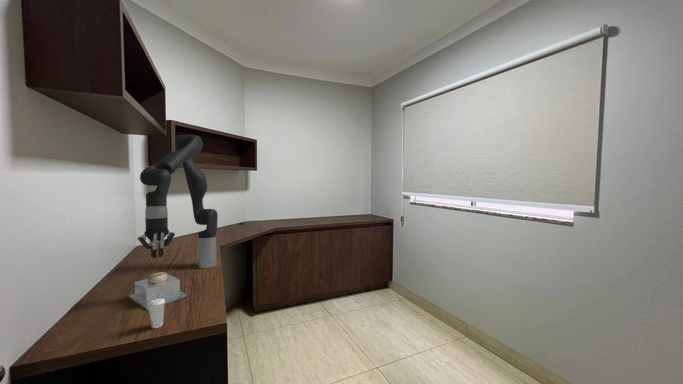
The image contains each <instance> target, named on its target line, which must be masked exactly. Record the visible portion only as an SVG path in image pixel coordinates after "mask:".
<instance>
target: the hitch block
mask: <svg viewBox="0 0 683 384" xmlns="http://www.w3.org/2000/svg"><path fill="white" fill-rule="evenodd" d="M158 293H159V299H160V298H162V299H165V305H166V304H168V303H171V302H174V301H178V300H181V299H183V298H186V297H187V294H186V293H184V292H182V291H181V279H180V278H177V277H175V276H173V275H171V274H169V273H167V280H166V281H164V282H161V283H156V284H150V283H148V278H146V279H141V280H138V281H134V293H133V294H129V296H128V297H129V299H130V300H132V301H133V302H135V303H137V305H139V306H140V307H142V308H143V309H144V310H147V311H148V310H149V303H150V302H151V301H152V300H154V299H157V294H158Z"/></svg>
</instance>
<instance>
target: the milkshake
mask: <svg viewBox="0 0 683 384" xmlns="http://www.w3.org/2000/svg"><path fill="white" fill-rule="evenodd" d="M165 305H166V304H165V299H162V298H160V299H159V293H158V294H157V299H154V300H152V301H151V302H150V303H149V309H148V310H149V319H150V327H151V328H152V329H157V328H160V327H162V326H164V325H163V324H164V319H165V318H164V315H165V307H166V306H165Z"/></svg>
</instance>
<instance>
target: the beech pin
mask: <svg viewBox="0 0 683 384" xmlns="http://www.w3.org/2000/svg"><path fill="white" fill-rule="evenodd" d="M167 274H168V272H165V271H164V272H163V271H160V272H154V273H151V274H150V275H148V276H147V277H148V278H147V279H148V283H150V284H156V283H161V282H164V281H166V280H167Z"/></svg>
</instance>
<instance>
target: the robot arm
mask: <svg viewBox="0 0 683 384" xmlns="http://www.w3.org/2000/svg"><path fill="white" fill-rule="evenodd" d="M203 144H204V143H203V139H202V138H201V137H200V136H199V135H196V134H179V135H177V136H176V137H175V147H176V150H174V151H172V152H171V151H170V152H169V153H167V154H166V155H165V156H163V158H161V159H160V160H159V161H158V162H155V163H154V164H151V165H149V166H146V167H145V168H144V169H143V170H142V171H141V172H140V175H139V180H140V182H141V183H142V184H143V185H145V186H148V187H149V186H150V187H156V188H155V190H153V191H152V190H151V191H148V192H147V193H145V211H144V213H145V218H144V219H145V223H144V224H145V230H144V234H142V235H141V236H138V237H137V241H138V242H140V244H141V245H142V246H143V247H144V248H145V249H147V250H150V257H151V258H153V259H157V257H158V258H163V256H164V254H165V253H164V248H165V247H168V246H169V245H170V243H171V241H173V238H174V237H175V236H176V235H175V234H176V233H175V232H172V231H170V230H169V228H168V227H169V226H168V225H169V223H168V220H169V218H168V215H169V214H168V208H167V206H168V205H167V204H168V203H167V202H168V201H167V196H168V192H169V190H170V189H169V188H170V186H171V182H172V175H173V174H174V173H175V172H176V171H177V170H178V169H179V168H180V167H181V166H182V168H183V171H184V174H185V180H186V184H187V188H188V192H189V195H190V199H191V204H192V212H193V217H194V218H193V219H194V221H195V223H196V224H197V225H200V226H206V228H205V229H203V230H201V231H198V233H197V243H198V245H197V246H198V247H197V266H198V269H212V268H214V267H216V266H217V232H218V222H219V221H218V217H219V215H218V211H217V210H216V209H214V208H213V209H212V208H205V207H204V204H203V201H204V197H205V195H206V193H207V191H208V183H207V182H208V181H207V177H206V174H205V173H204V172H203V171H202V170H201V168H200V167H199V166H198V165H197V164H196V163H195V162H194V161H193V156H195V155H197V154H199V153H200V152H201V151H202V149H203V146H204V145H203ZM147 239H148V240H149V243H148V242H147V241H146V240H147ZM157 247H158V248H157Z"/></svg>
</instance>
